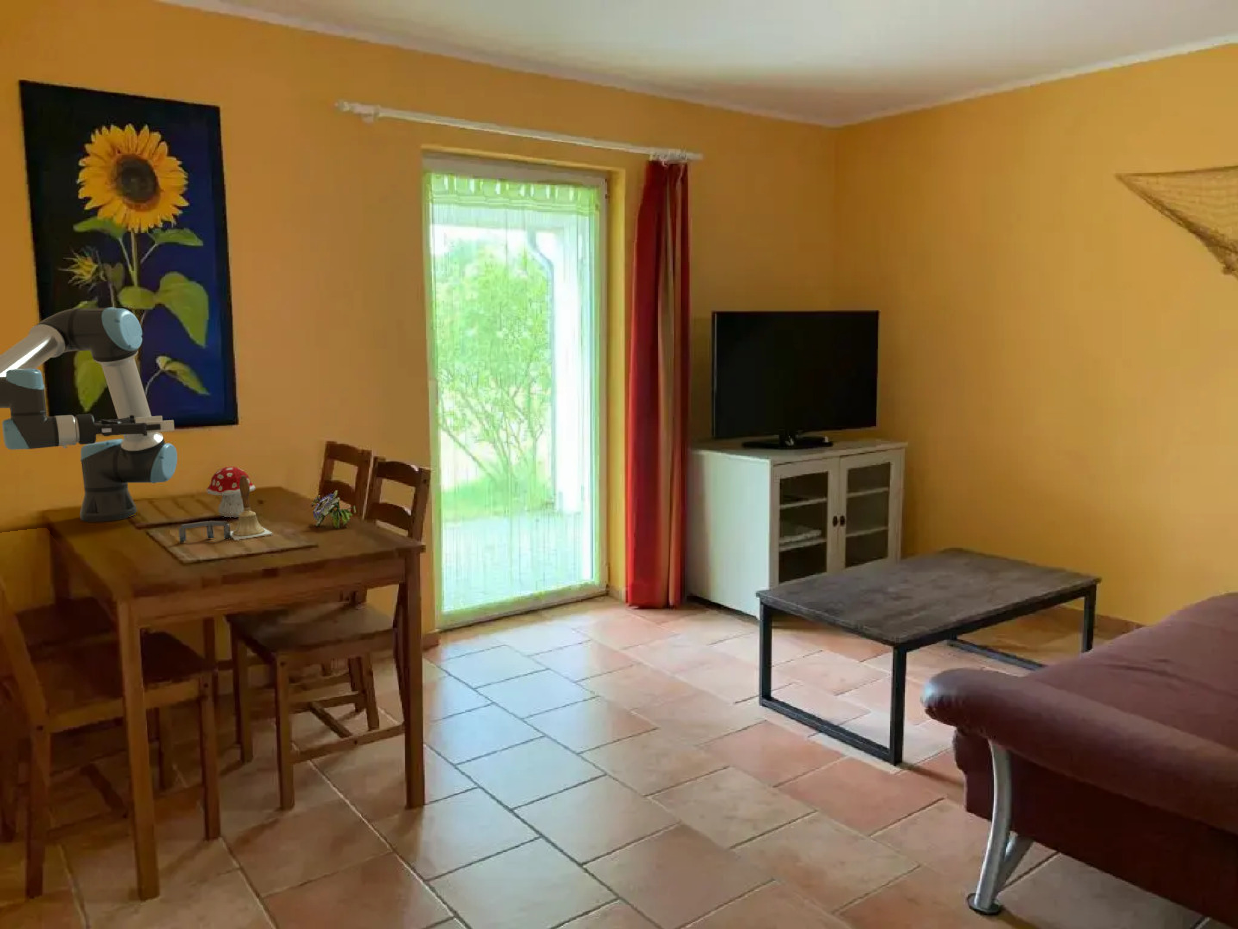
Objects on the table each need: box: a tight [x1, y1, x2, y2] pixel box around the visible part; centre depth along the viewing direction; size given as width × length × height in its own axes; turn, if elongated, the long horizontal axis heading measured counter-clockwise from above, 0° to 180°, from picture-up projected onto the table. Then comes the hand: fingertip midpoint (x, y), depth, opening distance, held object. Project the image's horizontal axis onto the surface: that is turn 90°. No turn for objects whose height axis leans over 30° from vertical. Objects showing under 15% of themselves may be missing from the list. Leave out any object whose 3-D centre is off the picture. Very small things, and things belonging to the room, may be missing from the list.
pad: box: [230, 526, 274, 541], centre depth 264 cm, size 10×10×1 cm
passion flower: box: [310, 490, 357, 530], centre depth 275 cm, size 11×11×12 cm
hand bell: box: [232, 475, 265, 536], centre depth 263 cm, size 8×8×16 cm
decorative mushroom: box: [206, 466, 256, 519], centre depth 288 cm, size 14×14×15 cm
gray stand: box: [178, 520, 232, 543], centre depth 258 cm, size 5×12×5 cm, turn 126°
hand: (168, 423), depth 252 cm, fingers open, 13 cm apart
